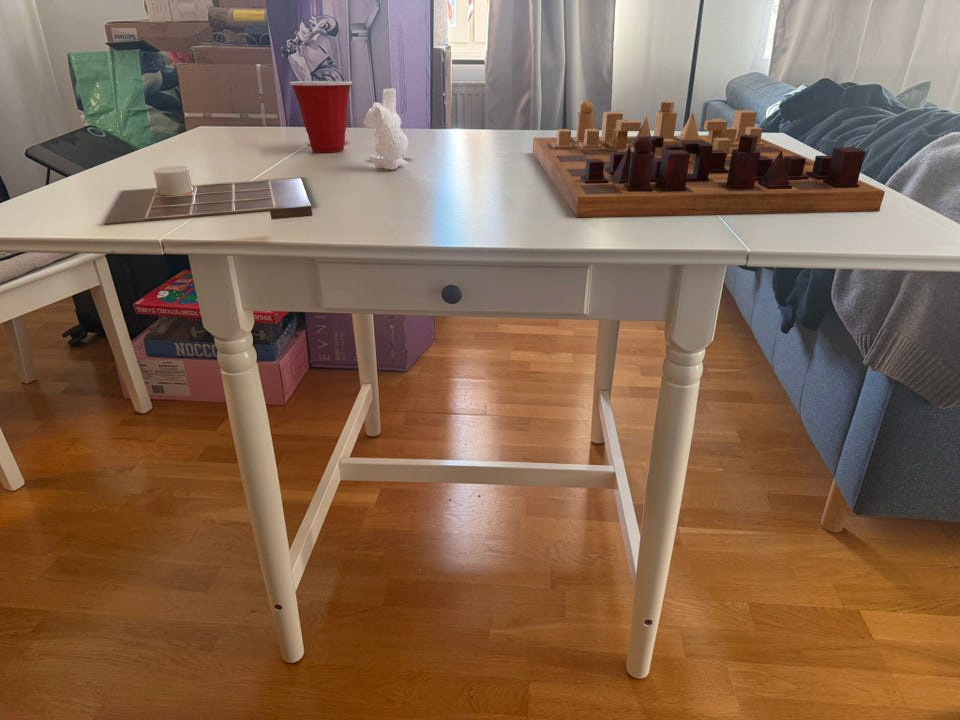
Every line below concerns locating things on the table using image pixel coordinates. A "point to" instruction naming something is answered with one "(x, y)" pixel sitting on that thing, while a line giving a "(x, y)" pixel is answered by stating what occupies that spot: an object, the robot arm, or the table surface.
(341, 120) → the plastic cup
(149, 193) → the board
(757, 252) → the table surface
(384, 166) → the white upright figurine
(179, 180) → the short white cylinder
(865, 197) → the gameboard
